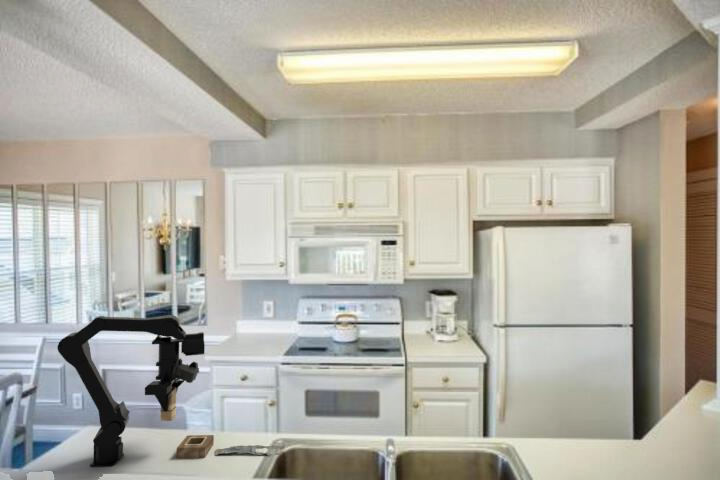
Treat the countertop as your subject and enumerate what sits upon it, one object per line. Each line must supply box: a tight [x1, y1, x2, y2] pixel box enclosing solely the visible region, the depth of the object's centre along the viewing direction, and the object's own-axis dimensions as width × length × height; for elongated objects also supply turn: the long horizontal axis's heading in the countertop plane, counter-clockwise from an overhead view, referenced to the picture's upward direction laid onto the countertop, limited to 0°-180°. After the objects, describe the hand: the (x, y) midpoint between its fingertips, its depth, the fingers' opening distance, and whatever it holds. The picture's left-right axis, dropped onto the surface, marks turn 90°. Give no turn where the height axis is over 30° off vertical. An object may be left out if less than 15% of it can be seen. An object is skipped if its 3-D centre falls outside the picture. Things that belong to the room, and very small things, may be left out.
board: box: [176, 434, 215, 459], centre depth 126 cm, size 8×8×3 cm
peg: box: [160, 387, 177, 422], centre depth 126 cm, size 3×3×9 cm
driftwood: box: [214, 443, 286, 457], centre depth 126 cm, size 21×7×2 cm, turn 89°
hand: (168, 408), depth 126 cm, fingers closed on peg, 3 cm apart
